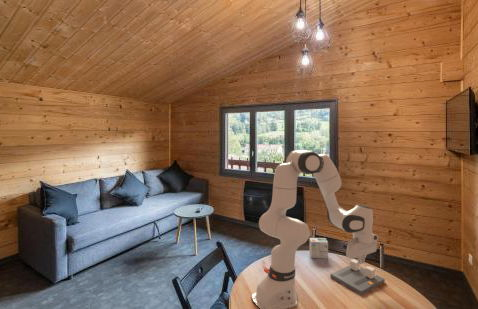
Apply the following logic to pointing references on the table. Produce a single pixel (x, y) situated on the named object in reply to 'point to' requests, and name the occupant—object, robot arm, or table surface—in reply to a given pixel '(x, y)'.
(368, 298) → the table surface
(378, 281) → the panel
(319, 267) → the table surface
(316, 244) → the light bulb box
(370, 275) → the block
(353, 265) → the white slider knob
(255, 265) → the table surface
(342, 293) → the table surface
